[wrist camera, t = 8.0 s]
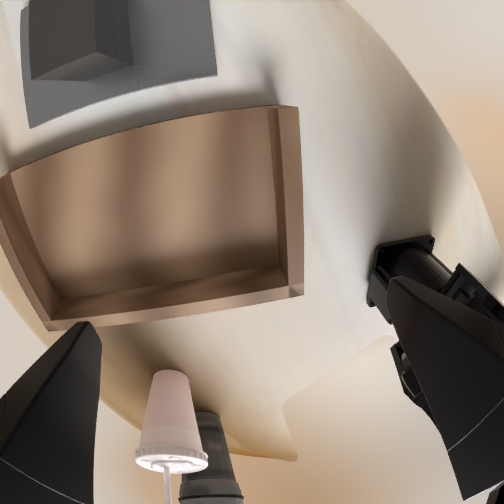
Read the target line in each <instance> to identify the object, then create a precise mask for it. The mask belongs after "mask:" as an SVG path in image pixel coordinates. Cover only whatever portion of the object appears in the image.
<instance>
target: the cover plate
mask: <svg viewBox="0 0 504 504" xmlns="http://www.w3.org/2000/svg"><path fill="white" fill-rule="evenodd" d="M20 45H21V66H22V78H23V88H24V96H25V103H26V110H27V116H28V122H29V127H30V129H31V128H34V127H37V126H40V125H42V124H44V123H46V122H49V121H51V120H53V119H56V118H58V117H61V116H63V115H66V114H68V113H71V112H74V111H76V110H79V109H82V108H85V107H87V106H90V105H93V104H96V103H99V102H103V101H106V100H109V99H112V98H116V97H119V96H122V95H126V94H130V93H133V92H137V91H141V90H145V89H149V88H154V87H158V86H163V85H168V84H172V83H178V82H183V81H189V80H195V79H201V78H208V77H215V76H217V66H216V58H215V49H214V40H213V31H212V22H211V13H210V4H209V0H30V1H29V6H27V7H26V8H24V9H22V10H21V22H20Z"/></svg>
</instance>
